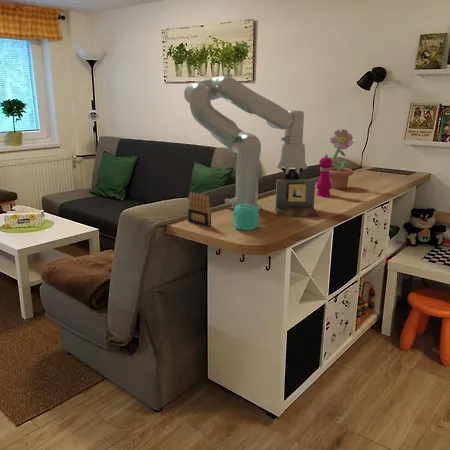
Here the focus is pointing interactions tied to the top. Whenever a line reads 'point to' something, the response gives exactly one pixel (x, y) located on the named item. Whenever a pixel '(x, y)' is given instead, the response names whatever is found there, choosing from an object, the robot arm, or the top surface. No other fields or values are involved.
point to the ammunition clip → (199, 210)
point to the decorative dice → (246, 217)
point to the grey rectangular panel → (283, 194)
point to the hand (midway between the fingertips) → (291, 182)
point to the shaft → (292, 177)
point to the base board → (296, 212)
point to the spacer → (290, 192)
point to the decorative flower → (340, 174)
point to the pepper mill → (324, 177)
